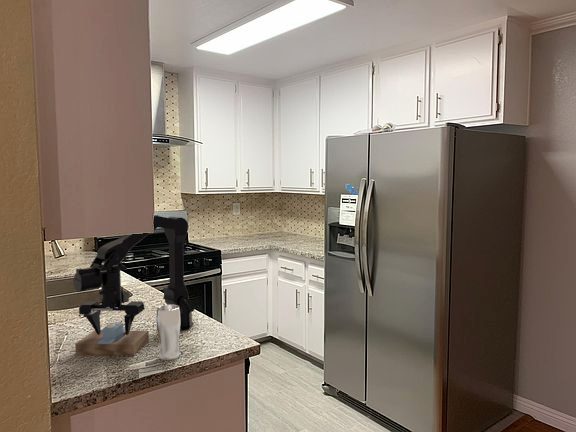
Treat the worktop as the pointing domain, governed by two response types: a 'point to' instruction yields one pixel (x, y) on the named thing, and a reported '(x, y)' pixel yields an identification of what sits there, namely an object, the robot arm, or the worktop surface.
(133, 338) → the plate
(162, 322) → the beer glass
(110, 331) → the block
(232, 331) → the worktop surface
